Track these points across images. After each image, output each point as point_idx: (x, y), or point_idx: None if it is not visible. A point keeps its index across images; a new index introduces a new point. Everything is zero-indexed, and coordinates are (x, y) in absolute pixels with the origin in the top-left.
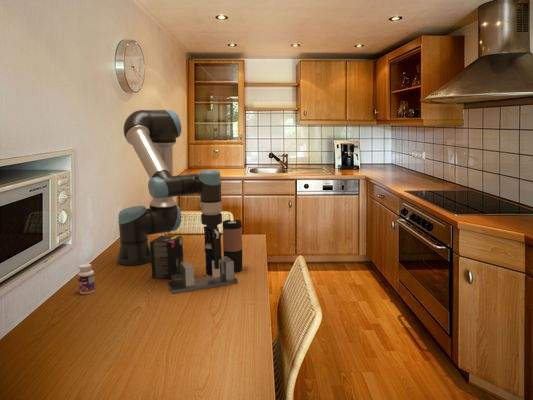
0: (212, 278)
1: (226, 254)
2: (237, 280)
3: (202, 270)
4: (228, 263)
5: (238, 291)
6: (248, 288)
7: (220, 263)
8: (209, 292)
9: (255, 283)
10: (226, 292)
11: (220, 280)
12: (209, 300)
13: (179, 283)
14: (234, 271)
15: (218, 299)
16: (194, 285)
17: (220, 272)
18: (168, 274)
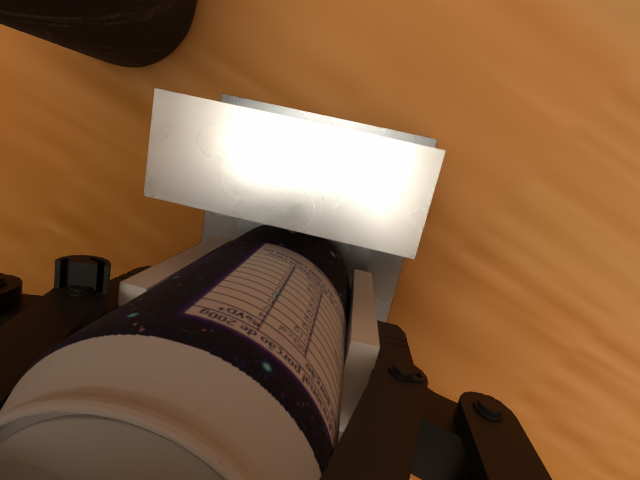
0: None
1: (15, 2)
2: (435, 141)
3: (21, 196)
4: (420, 221)
5: (581, 233)
6: (588, 137)
7: (328, 277)
8: (449, 383)
9: (536, 20)
10: (532, 306)
11: (351, 250)
12: (570, 451)
13: None
14: (189, 16)
15: (600, 407)
16: None
17: (339, 257)
18: None
